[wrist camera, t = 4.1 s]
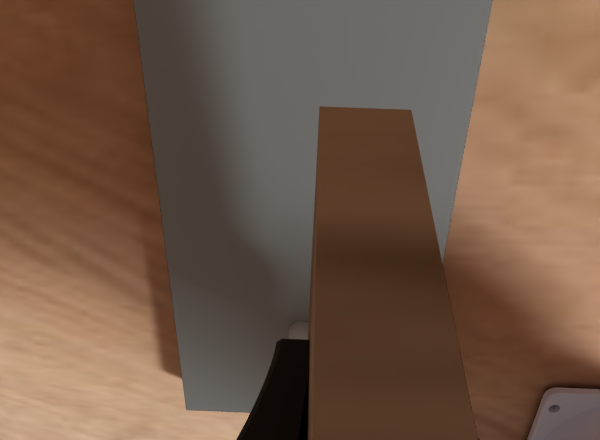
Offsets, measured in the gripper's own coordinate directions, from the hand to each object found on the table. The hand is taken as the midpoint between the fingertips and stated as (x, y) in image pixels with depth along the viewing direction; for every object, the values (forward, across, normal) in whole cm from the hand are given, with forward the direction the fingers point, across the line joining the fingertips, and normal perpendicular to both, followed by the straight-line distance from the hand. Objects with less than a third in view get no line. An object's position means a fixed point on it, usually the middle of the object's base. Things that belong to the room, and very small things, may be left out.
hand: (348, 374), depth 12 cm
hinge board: (+10, +1, +2) cm, 10 cm away
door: (+3, 0, +1) cm, 3 cm away
